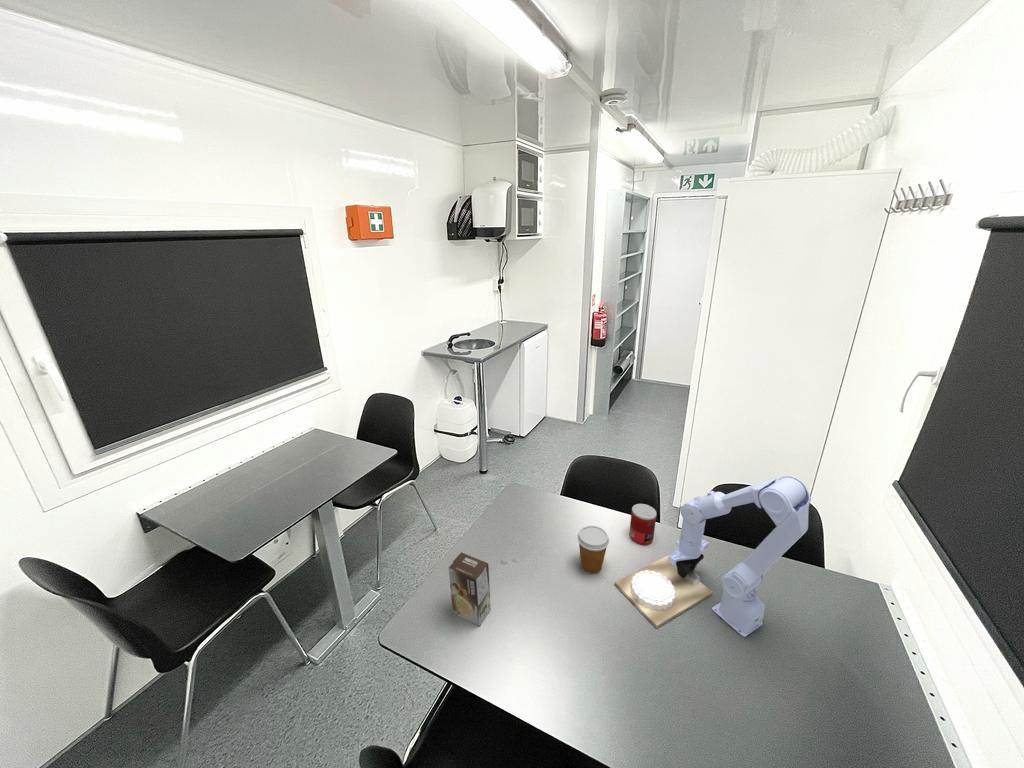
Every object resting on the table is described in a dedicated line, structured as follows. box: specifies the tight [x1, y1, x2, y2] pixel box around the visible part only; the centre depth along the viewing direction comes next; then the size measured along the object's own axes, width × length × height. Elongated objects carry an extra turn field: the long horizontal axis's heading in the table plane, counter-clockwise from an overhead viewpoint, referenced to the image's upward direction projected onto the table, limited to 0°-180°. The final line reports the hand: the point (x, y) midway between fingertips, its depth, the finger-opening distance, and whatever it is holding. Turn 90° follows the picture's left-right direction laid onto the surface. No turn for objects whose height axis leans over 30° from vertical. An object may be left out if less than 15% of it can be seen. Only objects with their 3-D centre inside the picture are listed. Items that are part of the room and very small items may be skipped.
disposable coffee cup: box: [576, 525, 610, 575], centre depth 122 cm, size 10×10×12 cm
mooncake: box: [631, 570, 676, 611], centre depth 113 cm, size 12×12×4 cm
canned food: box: [628, 503, 657, 546], centre depth 134 cm, size 8×8×11 cm
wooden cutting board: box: [614, 555, 714, 629], centre depth 115 cm, size 16×22×3 cm
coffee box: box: [448, 552, 492, 627], centre depth 107 cm, size 9×6×16 cm
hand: (684, 573), depth 119 cm, fingers closed on wooden cutting board, 2 cm apart
